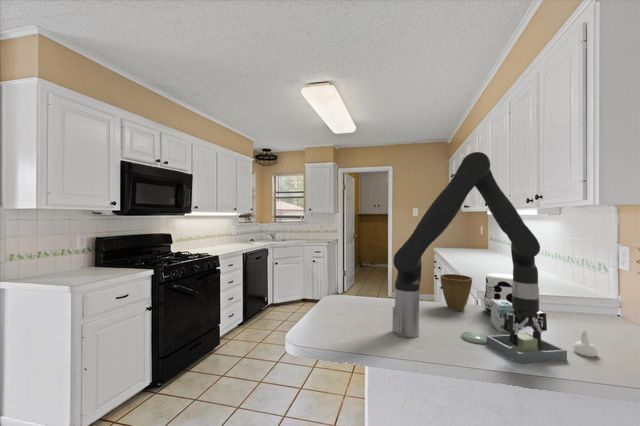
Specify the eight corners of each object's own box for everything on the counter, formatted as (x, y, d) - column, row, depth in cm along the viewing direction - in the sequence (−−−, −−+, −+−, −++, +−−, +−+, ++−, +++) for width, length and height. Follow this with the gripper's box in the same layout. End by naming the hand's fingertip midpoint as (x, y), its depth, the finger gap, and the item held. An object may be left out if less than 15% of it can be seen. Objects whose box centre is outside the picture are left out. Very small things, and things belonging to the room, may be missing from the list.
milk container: (528, 314, 148) (528, 276, 148) (522, 323, 135) (522, 281, 135) (488, 306, 159) (488, 271, 159) (479, 314, 146) (479, 276, 146)
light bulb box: (517, 334, 121) (518, 306, 122) (499, 332, 123) (499, 305, 123) (507, 324, 132) (507, 299, 132) (490, 323, 133) (490, 298, 133)
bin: (519, 363, 96) (519, 353, 96) (486, 344, 111) (486, 335, 111) (566, 359, 99) (566, 350, 99) (528, 341, 114) (528, 333, 114)
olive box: (524, 358, 100) (524, 340, 100) (511, 352, 105) (512, 334, 105) (537, 357, 101) (537, 339, 101) (524, 351, 106) (525, 333, 106)
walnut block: (528, 349, 107) (529, 337, 107) (518, 344, 111) (518, 333, 111) (536, 348, 109) (537, 336, 109) (525, 343, 112) (526, 332, 112)
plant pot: (437, 303, 163) (437, 273, 163) (467, 305, 160) (467, 274, 160) (442, 311, 149) (443, 278, 149) (475, 314, 146) (476, 280, 146)
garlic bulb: (597, 355, 105) (597, 331, 105) (597, 359, 100) (597, 334, 101) (573, 349, 109) (573, 326, 110) (572, 353, 104) (573, 329, 105)
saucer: (473, 344, 110) (473, 342, 110) (456, 334, 120) (456, 332, 120) (497, 343, 112) (497, 341, 112) (479, 333, 121) (479, 331, 121)
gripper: (515, 299, 98) (515, 350, 98) (553, 297, 100) (554, 347, 100) (498, 293, 105) (498, 341, 105) (534, 292, 108) (534, 338, 107)
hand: (525, 344), depth 102 cm, fingers open, 8 cm apart
